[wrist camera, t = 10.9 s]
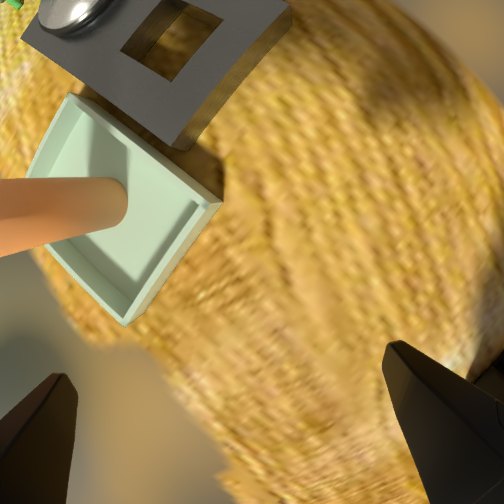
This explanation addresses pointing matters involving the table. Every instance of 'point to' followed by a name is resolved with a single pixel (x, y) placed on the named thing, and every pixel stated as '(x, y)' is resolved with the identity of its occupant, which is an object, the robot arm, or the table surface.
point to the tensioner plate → (140, 42)
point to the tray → (138, 212)
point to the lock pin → (57, 209)
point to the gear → (13, 3)
